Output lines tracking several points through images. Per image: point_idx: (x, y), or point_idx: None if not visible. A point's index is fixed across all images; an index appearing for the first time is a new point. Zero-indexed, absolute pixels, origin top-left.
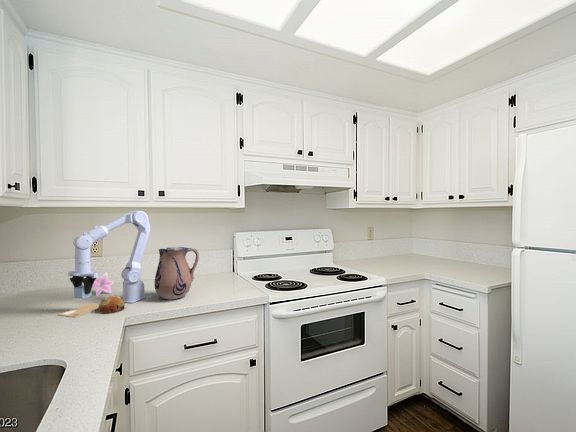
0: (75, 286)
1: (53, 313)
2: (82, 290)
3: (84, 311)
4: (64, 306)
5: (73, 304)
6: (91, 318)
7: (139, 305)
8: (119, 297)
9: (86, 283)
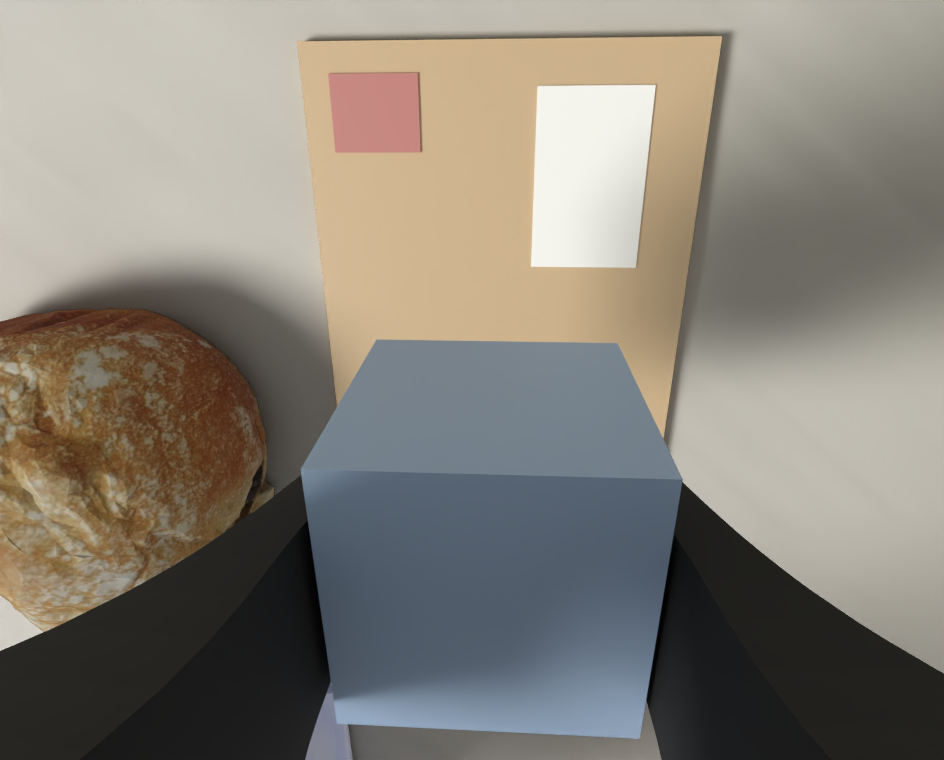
0: (697, 560)
1: (862, 94)
2: (322, 440)
3: (397, 280)
4: (939, 406)
5: (863, 498)
6: (28, 80)
7: (4, 614)
8: (29, 619)
9: (33, 637)
